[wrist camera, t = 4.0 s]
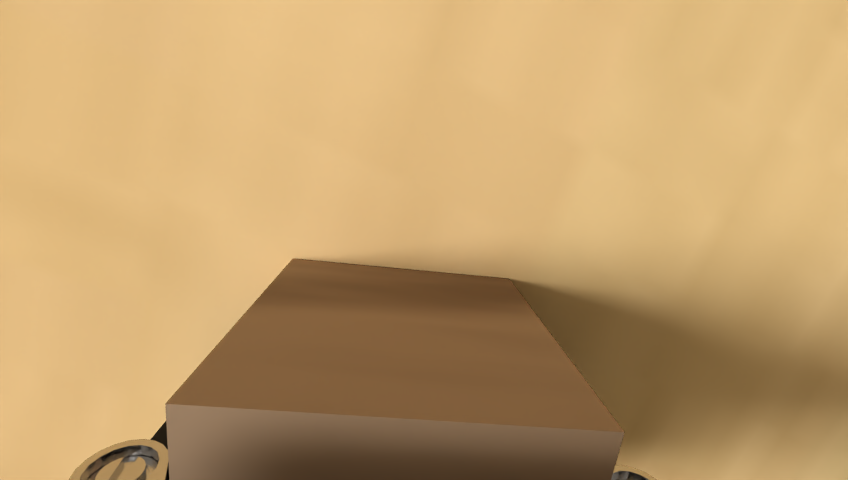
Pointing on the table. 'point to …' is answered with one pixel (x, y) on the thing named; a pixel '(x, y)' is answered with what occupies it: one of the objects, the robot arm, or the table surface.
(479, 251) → the table surface
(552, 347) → the walnut block
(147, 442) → the robot arm
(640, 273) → the table surface
